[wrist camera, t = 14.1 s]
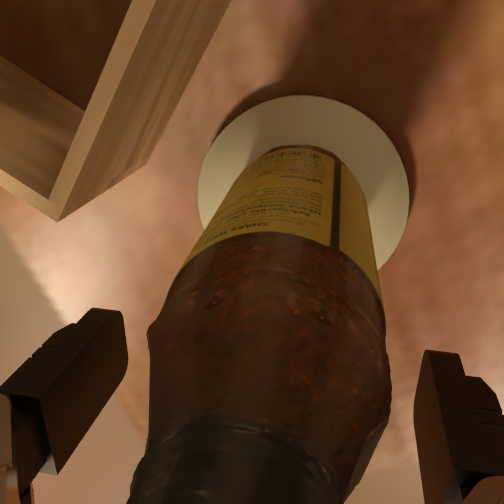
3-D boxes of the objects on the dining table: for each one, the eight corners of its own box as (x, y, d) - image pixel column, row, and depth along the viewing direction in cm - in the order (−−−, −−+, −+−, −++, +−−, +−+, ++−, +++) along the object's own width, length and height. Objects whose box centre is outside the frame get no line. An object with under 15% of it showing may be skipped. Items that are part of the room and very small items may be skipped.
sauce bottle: (212, 215, 24) (-207, 766, 6) (284, 109, 21) (-105, 556, 3) (318, 289, 24) (223, 988, 7) (402, 195, 21) (630, 979, 4)
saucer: (425, 99, 20) (427, 101, 20) (391, 302, 24) (392, 308, 24) (197, 90, 22) (194, 91, 21) (203, 281, 26) (200, 286, 26)
